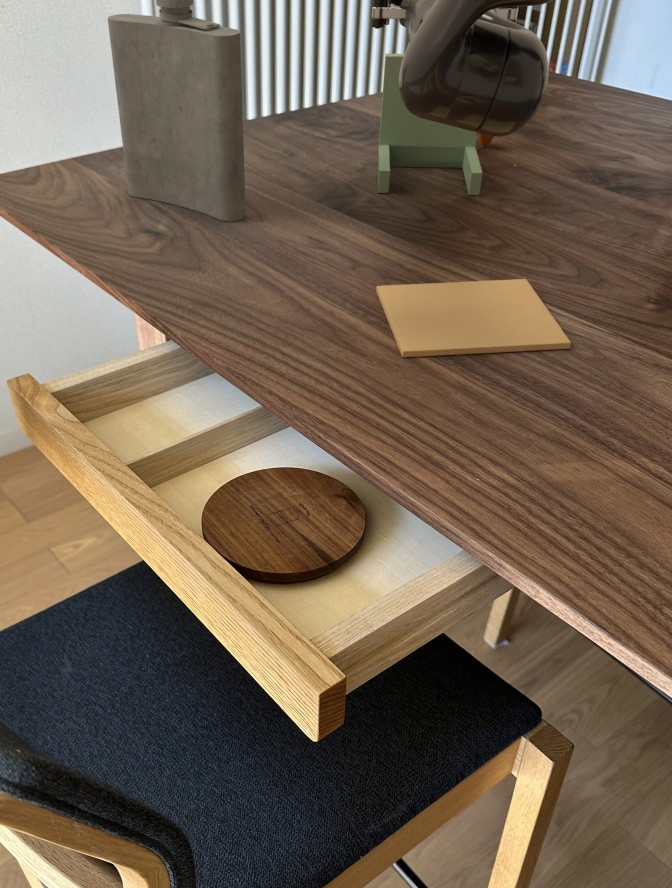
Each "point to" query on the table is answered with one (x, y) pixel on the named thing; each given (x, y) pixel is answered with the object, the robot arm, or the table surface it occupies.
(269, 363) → the table surface
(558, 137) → the table surface
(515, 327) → the cork mat
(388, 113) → the tablet stand
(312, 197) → the table surface
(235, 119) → the hip flask
